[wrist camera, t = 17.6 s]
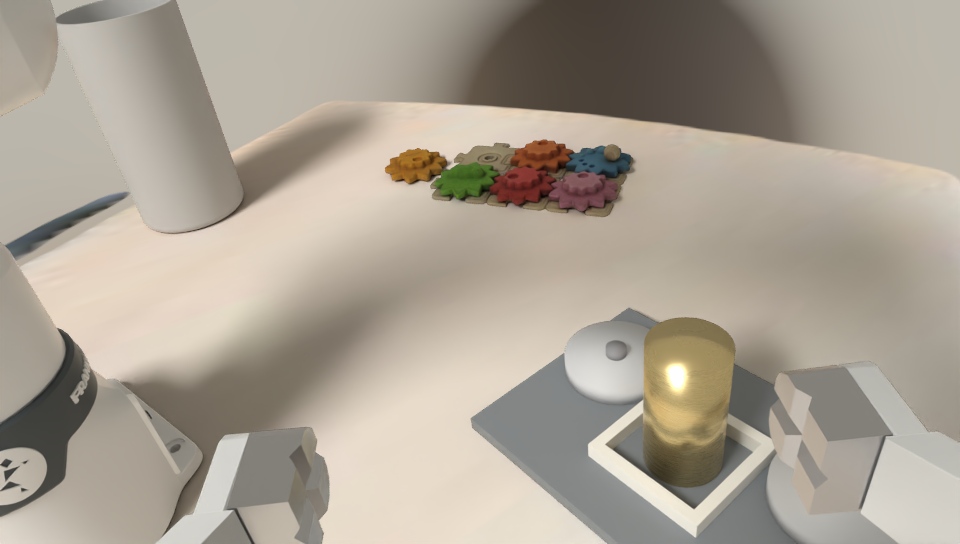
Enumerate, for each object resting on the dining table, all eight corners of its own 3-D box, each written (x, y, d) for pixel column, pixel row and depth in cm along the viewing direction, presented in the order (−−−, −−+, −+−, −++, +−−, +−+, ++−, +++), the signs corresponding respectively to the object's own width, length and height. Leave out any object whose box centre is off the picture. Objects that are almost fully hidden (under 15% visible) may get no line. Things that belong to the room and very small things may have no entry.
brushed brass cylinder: (633, 474, 45) (633, 364, 40) (653, 418, 49) (655, 311, 43) (714, 497, 43) (727, 384, 38) (728, 437, 47) (741, 326, 41)
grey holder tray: (472, 427, 52) (467, 397, 50) (628, 316, 60) (629, 287, 58) (794, 704, 34) (805, 674, 32) (951, 493, 43) (966, 459, 41)
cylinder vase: (263, 203, 87) (193, -3, 72) (170, 247, 80) (73, 31, 66) (218, 177, 94) (147, -12, 80) (130, 216, 88) (35, 17, 74)
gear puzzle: (364, 198, 86) (357, 169, 83) (420, 143, 98) (415, 116, 95) (609, 223, 74) (609, 190, 72) (639, 158, 86) (640, 128, 84)
